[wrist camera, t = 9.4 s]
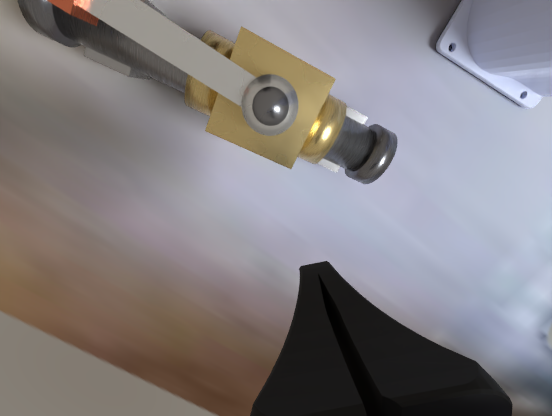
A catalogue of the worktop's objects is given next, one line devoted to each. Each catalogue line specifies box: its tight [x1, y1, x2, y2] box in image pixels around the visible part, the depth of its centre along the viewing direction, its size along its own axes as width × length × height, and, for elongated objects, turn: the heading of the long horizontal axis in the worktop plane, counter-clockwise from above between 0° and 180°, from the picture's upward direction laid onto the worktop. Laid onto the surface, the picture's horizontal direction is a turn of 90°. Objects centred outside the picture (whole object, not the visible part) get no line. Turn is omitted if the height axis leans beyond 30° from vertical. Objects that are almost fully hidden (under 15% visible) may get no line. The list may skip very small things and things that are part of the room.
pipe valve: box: [18, 0, 397, 184], centre depth 15 cm, size 20×5×6 cm, turn 65°
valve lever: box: [47, 0, 298, 136], centre depth 11 cm, size 14×3×2 cm, turn 59°
